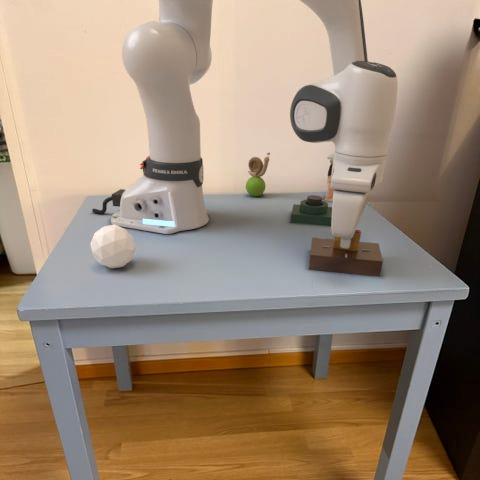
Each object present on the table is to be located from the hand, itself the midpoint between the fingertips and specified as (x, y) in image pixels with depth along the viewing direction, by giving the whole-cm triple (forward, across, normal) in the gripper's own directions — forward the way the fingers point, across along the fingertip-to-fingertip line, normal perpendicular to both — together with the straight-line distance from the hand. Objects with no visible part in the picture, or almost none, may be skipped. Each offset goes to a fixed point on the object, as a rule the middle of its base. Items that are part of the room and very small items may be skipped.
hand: (346, 244), depth 86 cm
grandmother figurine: (+4, -43, -10) cm, 44 cm away
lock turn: (+1, 0, 0) cm, 1 cm away
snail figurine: (+4, -37, -30) cm, 47 cm away
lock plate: (+4, 0, 0) cm, 4 cm away
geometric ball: (+4, +18, -40) cm, 44 cm away
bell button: (0, -24, -11) cm, 26 cm away
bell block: (+4, -24, -11) cm, 26 cm away
